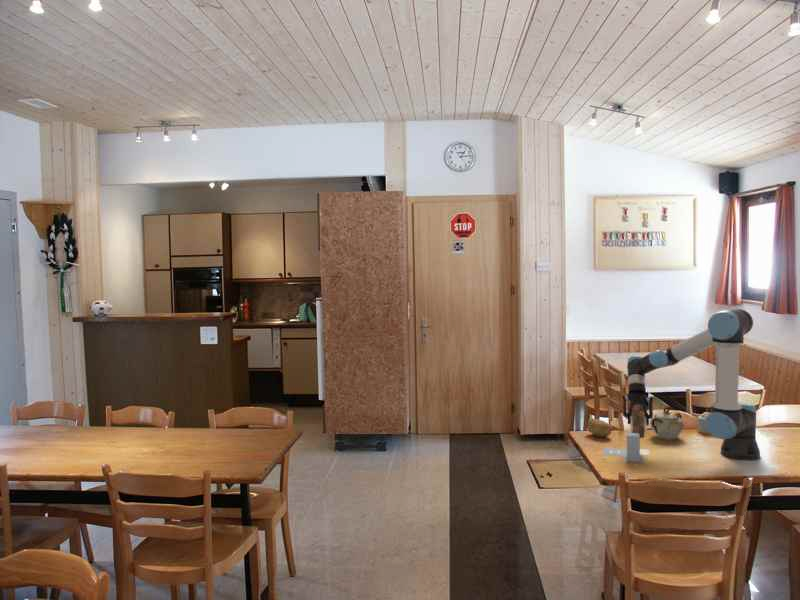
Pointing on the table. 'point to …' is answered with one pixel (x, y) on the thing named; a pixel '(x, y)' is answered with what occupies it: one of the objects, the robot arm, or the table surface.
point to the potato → (599, 427)
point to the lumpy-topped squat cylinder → (703, 423)
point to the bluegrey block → (633, 447)
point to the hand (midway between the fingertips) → (638, 430)
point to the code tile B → (632, 461)
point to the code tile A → (614, 451)
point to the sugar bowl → (667, 425)
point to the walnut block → (638, 422)
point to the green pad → (644, 452)
